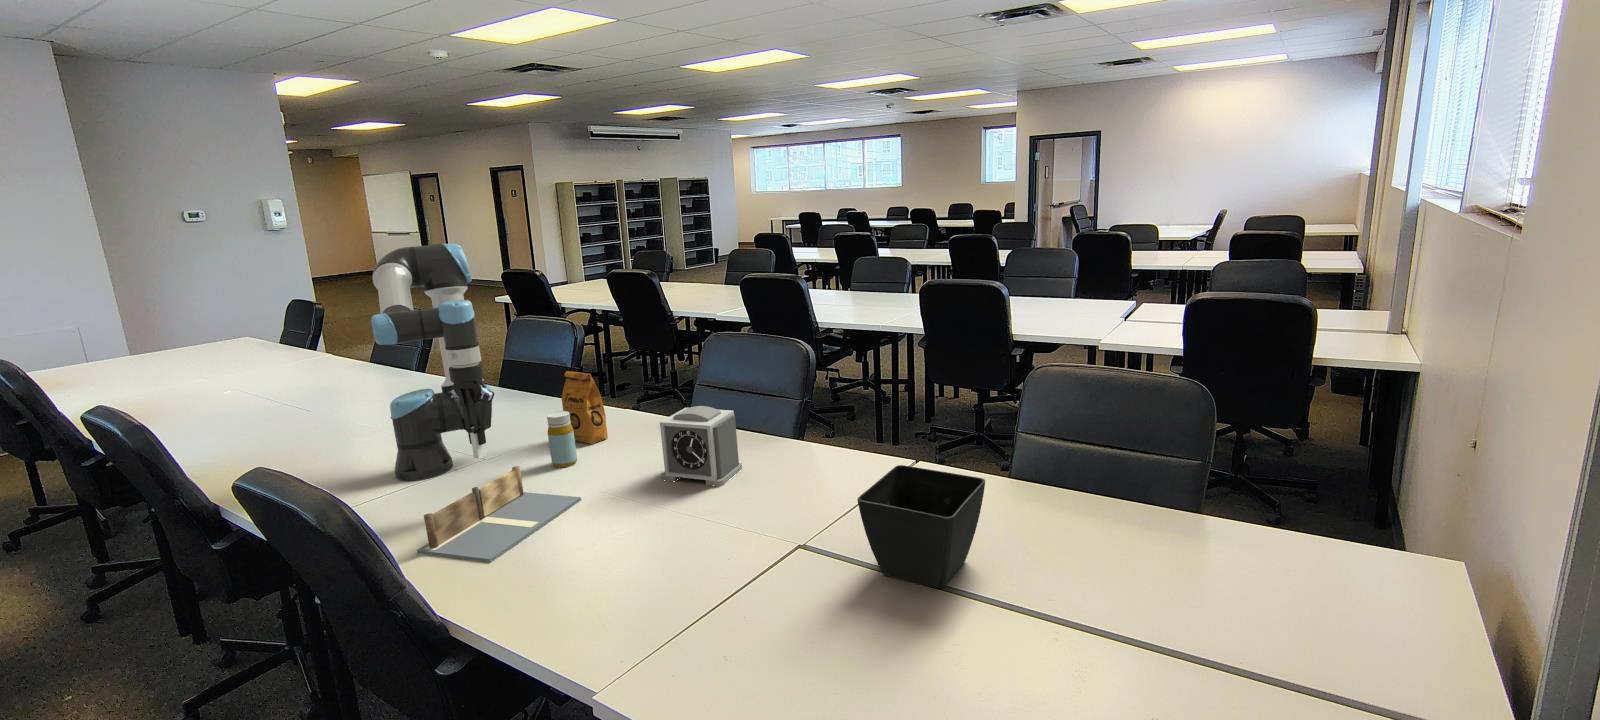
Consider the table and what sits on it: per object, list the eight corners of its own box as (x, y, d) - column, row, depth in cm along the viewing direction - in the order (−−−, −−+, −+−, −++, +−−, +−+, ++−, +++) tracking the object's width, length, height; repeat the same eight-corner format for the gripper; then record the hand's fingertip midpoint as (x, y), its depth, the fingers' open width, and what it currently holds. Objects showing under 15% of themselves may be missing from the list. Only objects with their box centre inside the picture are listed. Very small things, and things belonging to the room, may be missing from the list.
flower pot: (953, 604, 134) (951, 516, 130) (858, 580, 144) (854, 498, 140) (987, 557, 150) (987, 478, 146) (900, 538, 160) (897, 464, 156)
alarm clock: (660, 480, 200) (653, 414, 196) (685, 463, 212) (679, 400, 208) (721, 487, 193) (715, 419, 189) (744, 468, 205) (738, 404, 201)
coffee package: (588, 447, 231) (579, 377, 226) (562, 441, 238) (553, 374, 233) (613, 437, 239) (605, 370, 234) (588, 432, 246) (579, 366, 241)
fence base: (434, 549, 166) (428, 515, 164) (427, 548, 167) (421, 515, 165) (485, 518, 181) (480, 487, 179) (479, 517, 182) (474, 486, 180)
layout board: (490, 562, 160) (489, 558, 160) (417, 553, 167) (416, 549, 166) (581, 500, 191) (580, 496, 190) (516, 494, 197) (515, 491, 197)
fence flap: (485, 516, 181) (481, 488, 180) (479, 516, 182) (474, 487, 180) (525, 493, 195) (521, 466, 193) (519, 492, 195) (515, 465, 193)
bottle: (570, 468, 214) (563, 417, 210) (547, 468, 215) (540, 417, 212) (581, 459, 220) (575, 410, 217) (560, 459, 222) (553, 410, 218)
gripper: (432, 367, 181) (448, 460, 186) (475, 368, 177) (491, 463, 182) (455, 360, 188) (470, 450, 193) (497, 361, 184) (511, 452, 189)
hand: (480, 456), depth 188 cm, fingers closed
